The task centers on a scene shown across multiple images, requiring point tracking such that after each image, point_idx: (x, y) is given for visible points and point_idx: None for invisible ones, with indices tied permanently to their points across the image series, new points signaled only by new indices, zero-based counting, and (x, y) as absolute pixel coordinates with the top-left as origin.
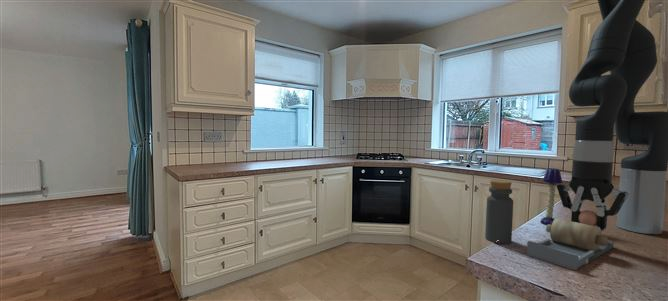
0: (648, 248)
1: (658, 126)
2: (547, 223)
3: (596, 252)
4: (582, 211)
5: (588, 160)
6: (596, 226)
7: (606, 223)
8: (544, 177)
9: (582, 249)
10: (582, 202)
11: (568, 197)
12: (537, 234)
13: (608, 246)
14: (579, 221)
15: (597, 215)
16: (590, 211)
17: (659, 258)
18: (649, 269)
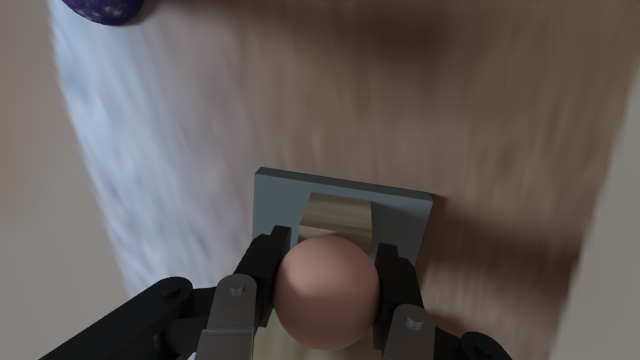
0: (577, 80)
1: None
2: (109, 24)
3: None
4: (284, 323)
5: None
6: (366, 250)
7: (416, 284)
8: None
9: None
10: (252, 343)
11: (127, 351)
12: (176, 236)
13: (415, 263)
14: (284, 251)
15: (371, 320)
16: (330, 343)
17: (584, 216)
18: (520, 352)
